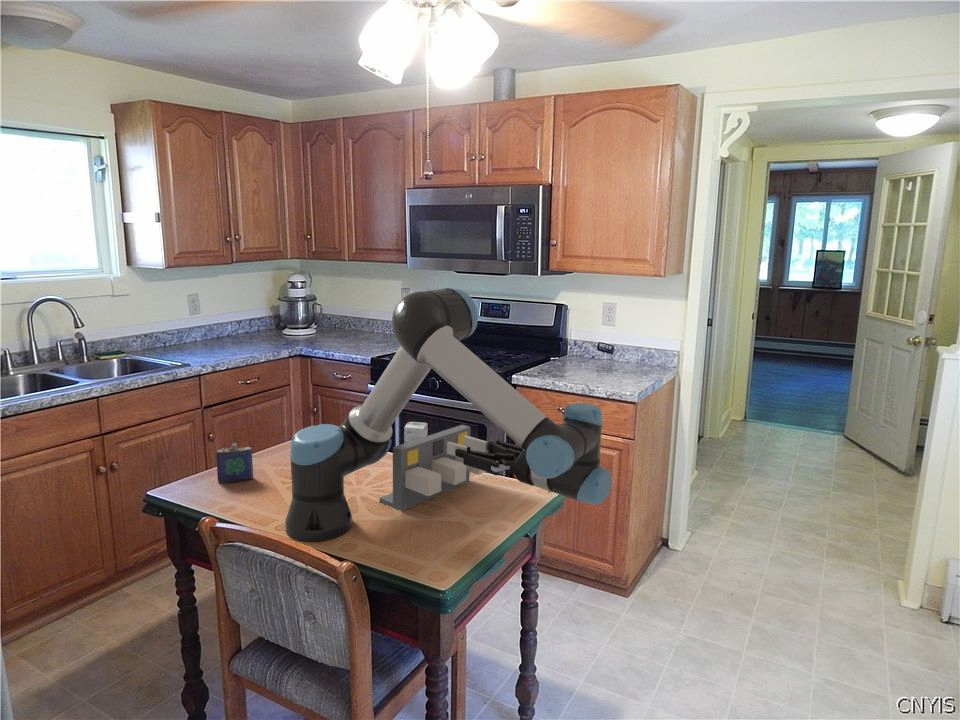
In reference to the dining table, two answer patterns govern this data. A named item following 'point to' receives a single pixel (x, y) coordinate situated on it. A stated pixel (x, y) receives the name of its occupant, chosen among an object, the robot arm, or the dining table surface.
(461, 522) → the dining table surface
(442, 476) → the button mid
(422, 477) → the button left
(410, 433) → the syrup box
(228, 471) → the flask
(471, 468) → the button right
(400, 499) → the light board
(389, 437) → the robot arm
